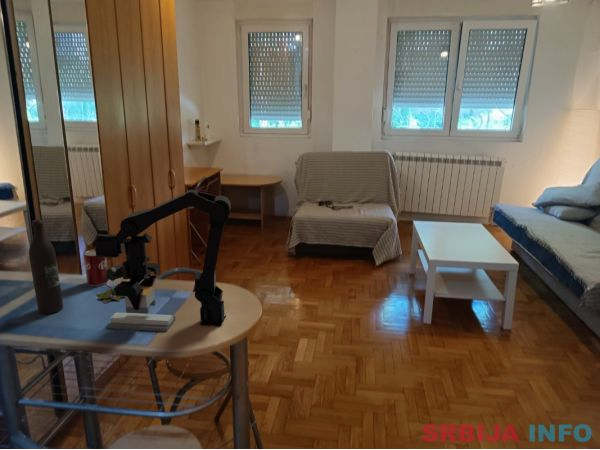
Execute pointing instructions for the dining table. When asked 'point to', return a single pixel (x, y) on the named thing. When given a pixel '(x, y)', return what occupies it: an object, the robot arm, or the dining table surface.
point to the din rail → (140, 326)
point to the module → (142, 301)
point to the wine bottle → (44, 271)
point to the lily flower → (109, 292)
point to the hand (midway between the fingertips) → (141, 304)
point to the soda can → (95, 269)
